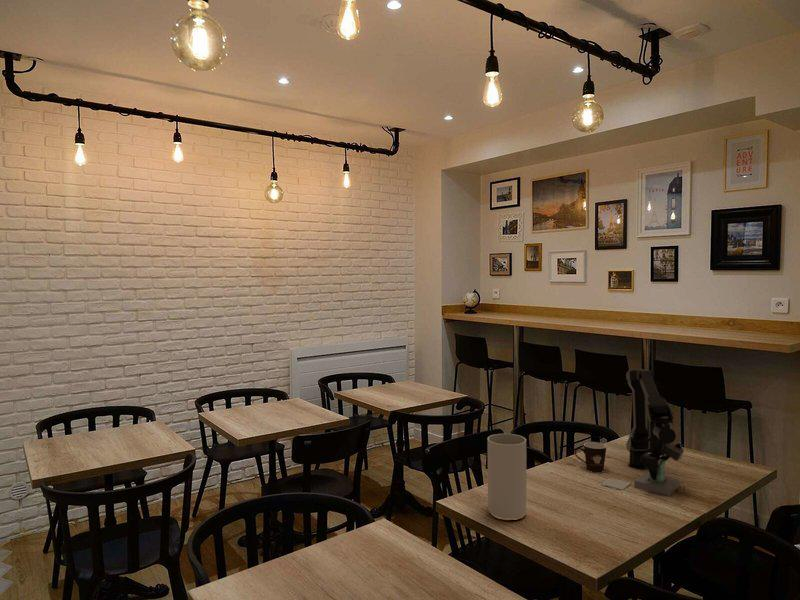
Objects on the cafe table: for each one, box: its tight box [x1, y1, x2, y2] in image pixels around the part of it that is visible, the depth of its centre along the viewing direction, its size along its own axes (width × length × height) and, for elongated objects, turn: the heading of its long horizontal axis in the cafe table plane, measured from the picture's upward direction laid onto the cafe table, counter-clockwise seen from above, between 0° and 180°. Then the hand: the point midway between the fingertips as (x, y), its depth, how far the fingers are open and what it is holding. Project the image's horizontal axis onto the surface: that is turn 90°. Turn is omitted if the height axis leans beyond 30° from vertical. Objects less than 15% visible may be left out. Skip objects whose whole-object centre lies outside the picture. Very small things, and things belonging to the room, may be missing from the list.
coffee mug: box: [574, 441, 608, 473], centre depth 222 cm, size 12×9×10 cm
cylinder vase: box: [487, 433, 528, 518], centre depth 181 cm, size 12×12×25 cm
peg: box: [650, 459, 666, 484], centre depth 202 cm, size 4×4×10 cm
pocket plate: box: [633, 471, 681, 497], centre depth 202 cm, size 12×12×2 cm
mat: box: [600, 477, 632, 491], centre depth 205 cm, size 8×8×1 cm
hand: (657, 477), depth 202 cm, fingers open, 6 cm apart
